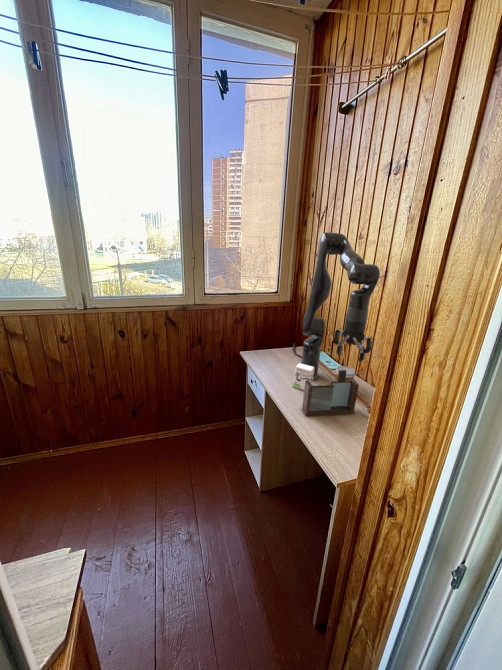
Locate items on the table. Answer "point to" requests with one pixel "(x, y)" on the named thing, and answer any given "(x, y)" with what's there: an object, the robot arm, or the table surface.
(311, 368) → the ink box
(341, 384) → the sliding pane
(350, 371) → the disposable coffee cup
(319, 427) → the table surface
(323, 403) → the window frame
